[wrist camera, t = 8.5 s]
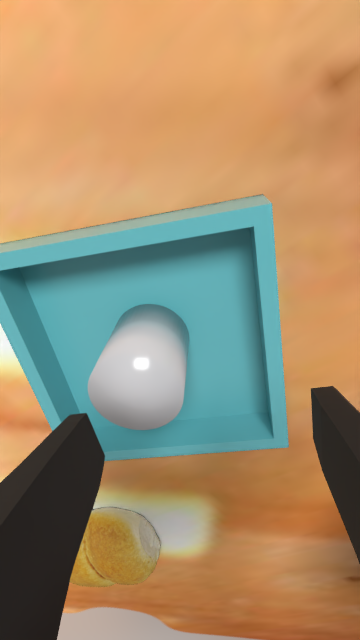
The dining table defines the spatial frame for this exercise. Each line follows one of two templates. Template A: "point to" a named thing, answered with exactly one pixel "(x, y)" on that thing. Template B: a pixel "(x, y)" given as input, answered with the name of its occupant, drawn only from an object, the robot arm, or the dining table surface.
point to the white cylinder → (142, 369)
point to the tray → (165, 290)
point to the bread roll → (115, 549)
